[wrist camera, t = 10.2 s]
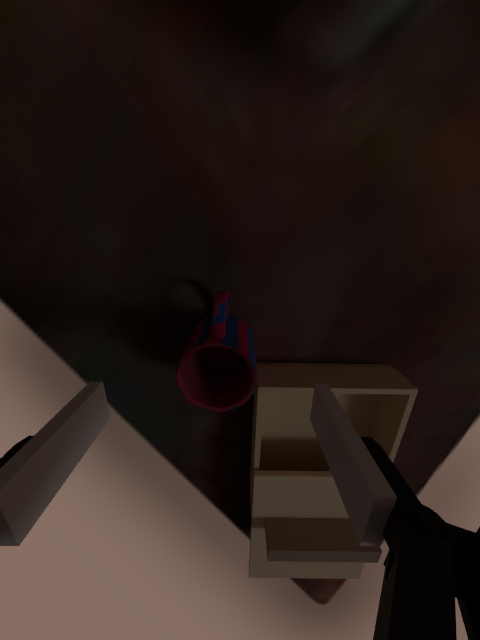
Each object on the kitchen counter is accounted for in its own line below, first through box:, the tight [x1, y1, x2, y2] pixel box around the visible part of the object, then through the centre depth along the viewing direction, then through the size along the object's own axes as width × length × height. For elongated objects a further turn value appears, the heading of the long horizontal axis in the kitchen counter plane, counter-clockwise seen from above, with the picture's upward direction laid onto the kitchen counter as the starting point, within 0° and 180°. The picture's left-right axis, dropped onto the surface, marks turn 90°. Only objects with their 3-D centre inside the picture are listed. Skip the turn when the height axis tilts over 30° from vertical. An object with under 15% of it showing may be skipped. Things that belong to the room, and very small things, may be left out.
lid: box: [249, 470, 382, 579], centre depth 27 cm, size 20×15×4 cm
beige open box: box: [250, 362, 418, 520], centre depth 27 cm, size 20×15×4 cm
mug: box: [176, 290, 257, 412], centre depth 21 cm, size 7×10×7 cm
